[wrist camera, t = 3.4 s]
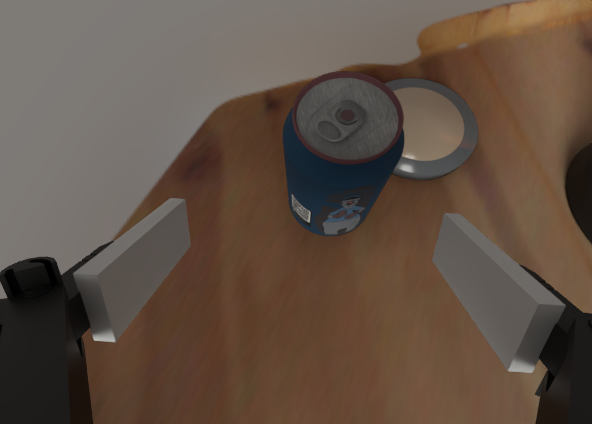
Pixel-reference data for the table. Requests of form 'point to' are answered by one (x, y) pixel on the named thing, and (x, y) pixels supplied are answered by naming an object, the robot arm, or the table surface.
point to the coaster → (433, 129)
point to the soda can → (340, 149)
